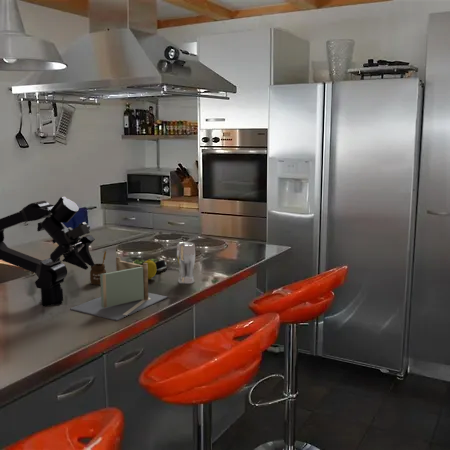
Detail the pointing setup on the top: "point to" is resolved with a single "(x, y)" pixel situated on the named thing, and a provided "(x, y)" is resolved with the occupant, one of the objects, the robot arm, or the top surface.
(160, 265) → the salad plate
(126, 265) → the fence fixed section
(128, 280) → the pale green panel
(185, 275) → the beer glass
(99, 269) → the brown jar
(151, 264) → the lemon
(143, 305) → the card
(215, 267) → the top surface
